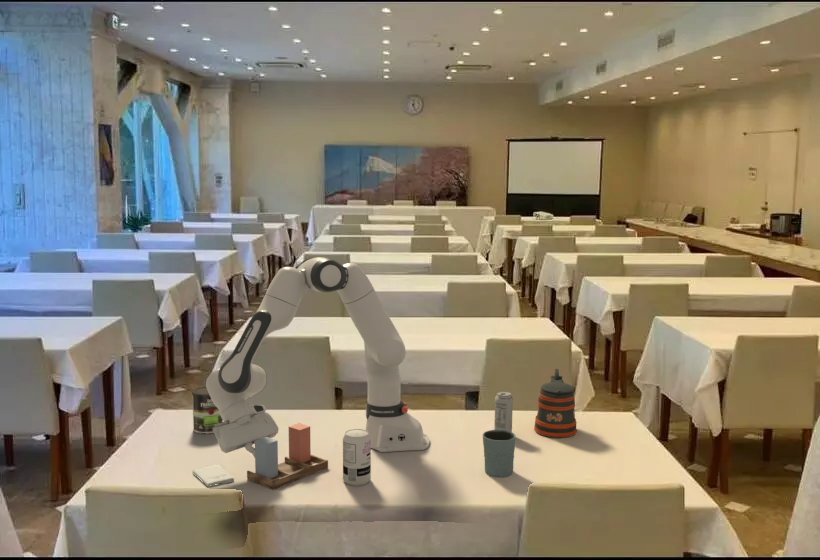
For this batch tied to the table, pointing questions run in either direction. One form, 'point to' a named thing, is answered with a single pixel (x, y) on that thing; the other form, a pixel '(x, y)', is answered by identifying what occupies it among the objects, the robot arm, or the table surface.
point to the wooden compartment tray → (290, 472)
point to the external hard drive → (213, 475)
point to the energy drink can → (503, 411)
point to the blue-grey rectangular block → (266, 457)
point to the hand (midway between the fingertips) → (259, 455)
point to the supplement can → (356, 457)
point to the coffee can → (204, 411)
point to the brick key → (299, 442)
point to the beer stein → (556, 409)
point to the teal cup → (499, 452)
